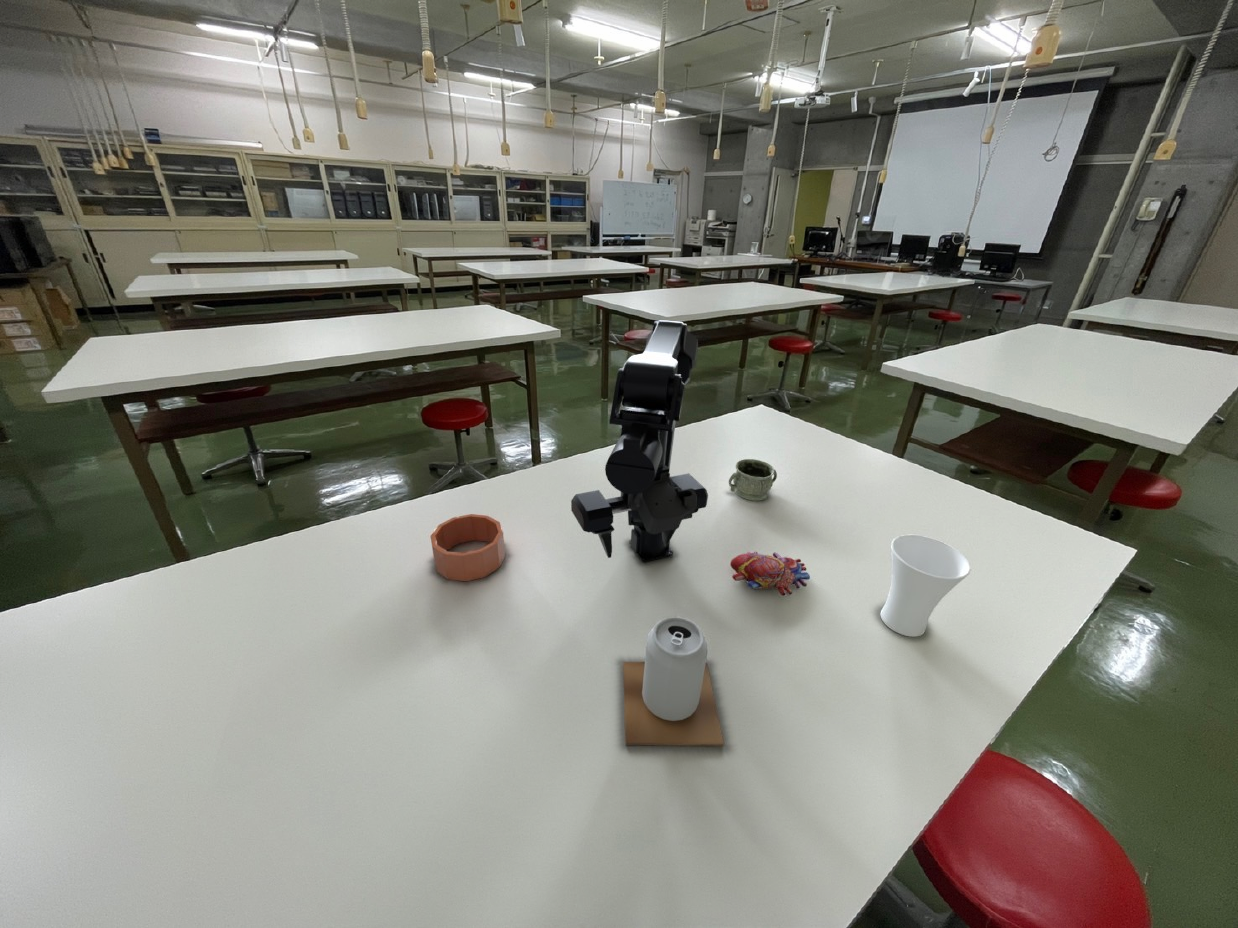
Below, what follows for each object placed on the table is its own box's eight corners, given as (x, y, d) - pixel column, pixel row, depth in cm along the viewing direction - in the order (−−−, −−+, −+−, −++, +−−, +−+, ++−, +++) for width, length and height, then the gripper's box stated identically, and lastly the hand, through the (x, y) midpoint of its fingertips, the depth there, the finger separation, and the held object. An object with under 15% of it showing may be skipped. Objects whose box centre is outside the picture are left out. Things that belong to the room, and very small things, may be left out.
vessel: (764, 479, 120) (768, 456, 117) (784, 499, 112) (789, 474, 109) (718, 484, 117) (722, 461, 114) (735, 504, 109) (739, 480, 106)
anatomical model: (720, 550, 88) (782, 540, 94) (715, 567, 89) (777, 556, 96) (762, 591, 79) (828, 576, 85) (756, 609, 80) (821, 593, 87)
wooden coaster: (623, 663, 71) (623, 661, 71) (706, 664, 71) (706, 662, 71) (625, 745, 61) (625, 743, 60) (723, 745, 61) (723, 743, 61)
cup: (932, 608, 83) (961, 542, 77) (946, 655, 74) (980, 586, 68) (864, 592, 86) (887, 528, 80) (870, 636, 77) (896, 568, 71)
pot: (497, 532, 97) (495, 509, 95) (510, 571, 87) (508, 546, 85) (432, 546, 93) (428, 521, 90) (438, 587, 83) (434, 562, 81)
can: (702, 684, 68) (714, 620, 62) (692, 733, 62) (704, 667, 56) (649, 668, 70) (656, 605, 64) (634, 714, 64) (640, 648, 58)
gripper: (600, 498, 56) (597, 602, 64) (737, 472, 63) (721, 568, 70) (569, 455, 65) (570, 550, 73) (693, 436, 72) (682, 525, 79)
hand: (637, 549), depth 73 cm, fingers open, 9 cm apart
